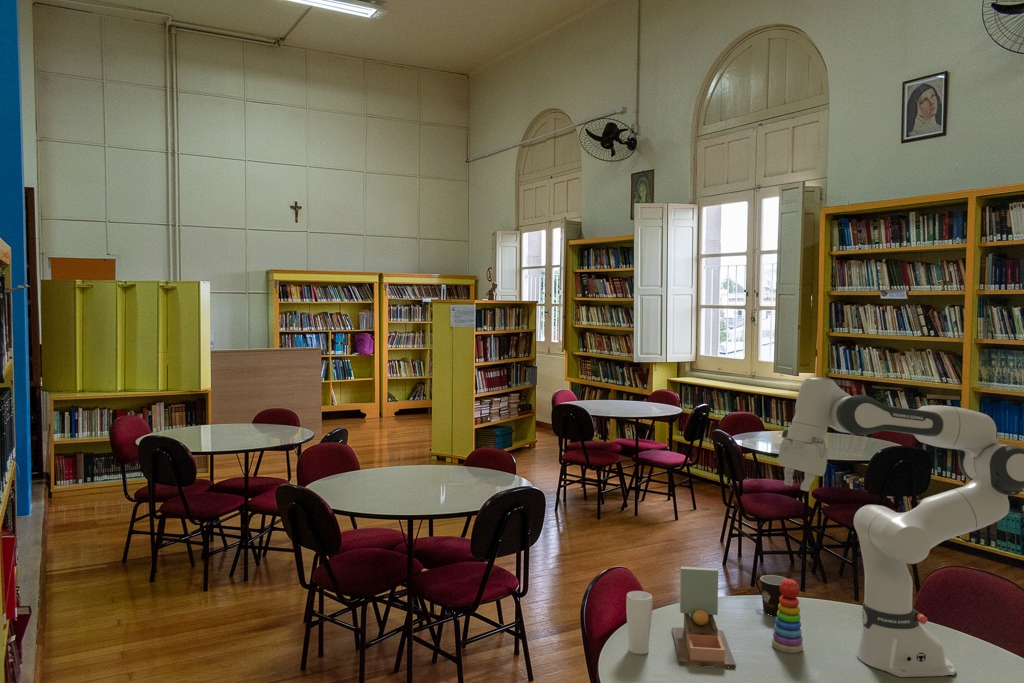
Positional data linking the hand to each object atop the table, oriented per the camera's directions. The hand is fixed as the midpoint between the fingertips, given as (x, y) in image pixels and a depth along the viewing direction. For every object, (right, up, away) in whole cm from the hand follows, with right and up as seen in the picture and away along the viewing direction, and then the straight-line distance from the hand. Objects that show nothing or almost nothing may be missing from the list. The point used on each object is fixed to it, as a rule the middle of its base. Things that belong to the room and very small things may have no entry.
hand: (796, 487), depth 194 cm
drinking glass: (-41, -44, +2) cm, 60 cm away
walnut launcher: (-24, -44, +3) cm, 50 cm away
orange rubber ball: (-23, -37, +7) cm, 44 cm away
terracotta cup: (-25, -44, -3) cm, 50 cm away
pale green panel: (-23, -38, +11) cm, 46 cm away
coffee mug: (+5, -44, +30) cm, 53 cm away
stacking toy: (-1, -44, +5) cm, 45 cm away
